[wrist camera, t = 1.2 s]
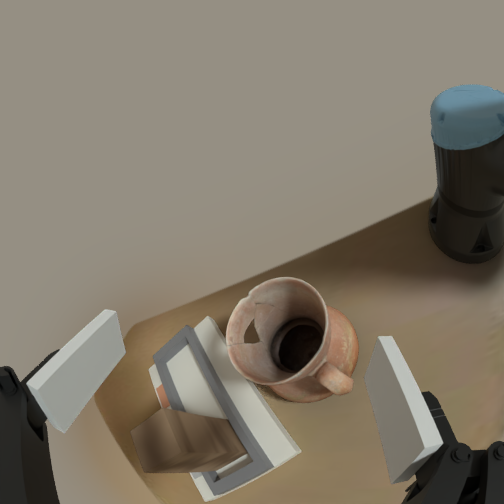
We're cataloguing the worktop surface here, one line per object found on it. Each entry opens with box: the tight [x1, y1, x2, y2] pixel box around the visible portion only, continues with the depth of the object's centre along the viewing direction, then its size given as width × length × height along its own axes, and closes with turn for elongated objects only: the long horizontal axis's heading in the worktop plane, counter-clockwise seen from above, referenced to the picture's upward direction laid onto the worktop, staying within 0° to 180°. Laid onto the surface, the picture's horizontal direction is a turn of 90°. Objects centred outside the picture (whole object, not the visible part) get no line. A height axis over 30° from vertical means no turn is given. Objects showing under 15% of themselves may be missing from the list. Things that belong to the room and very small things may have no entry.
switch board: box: [148, 316, 302, 502], centre depth 39 cm, size 18×30×4 cm, turn 33°
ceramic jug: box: [226, 277, 359, 403], centre depth 32 cm, size 18×14×14 cm
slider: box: [130, 407, 248, 473], centre depth 28 cm, size 7×6×14 cm
